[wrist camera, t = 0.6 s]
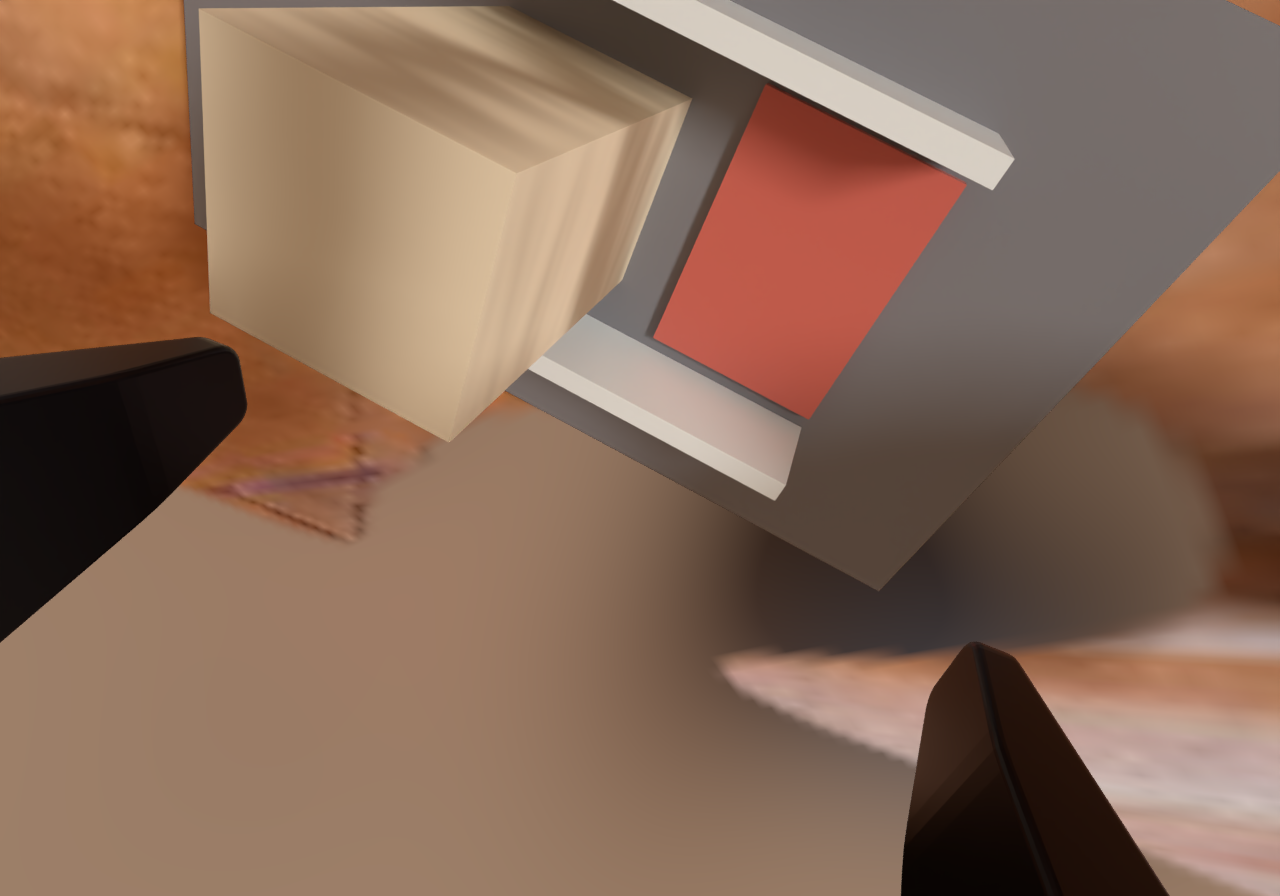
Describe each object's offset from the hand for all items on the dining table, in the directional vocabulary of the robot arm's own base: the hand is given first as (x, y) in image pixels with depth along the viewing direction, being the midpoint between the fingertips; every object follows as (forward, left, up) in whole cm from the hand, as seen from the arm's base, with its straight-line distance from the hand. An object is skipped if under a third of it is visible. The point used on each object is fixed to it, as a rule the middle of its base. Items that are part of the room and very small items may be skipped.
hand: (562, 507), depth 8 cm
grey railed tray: (+4, +1, -13) cm, 14 cm away
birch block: (+5, +1, -12) cm, 13 cm away
